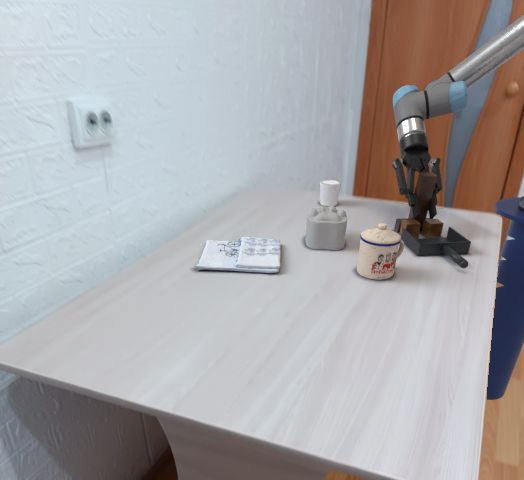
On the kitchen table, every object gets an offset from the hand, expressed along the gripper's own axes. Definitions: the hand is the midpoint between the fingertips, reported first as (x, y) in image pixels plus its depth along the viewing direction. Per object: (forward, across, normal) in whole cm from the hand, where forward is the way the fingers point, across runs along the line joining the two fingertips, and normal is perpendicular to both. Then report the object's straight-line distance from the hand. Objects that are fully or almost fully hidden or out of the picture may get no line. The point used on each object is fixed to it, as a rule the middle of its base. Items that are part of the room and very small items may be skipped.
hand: (425, 216), depth 131 cm
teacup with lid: (+19, +20, +11) cm, 30 cm away
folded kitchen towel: (+11, +52, +2) cm, 53 cm away
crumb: (+3, -4, -5) cm, 7 cm away
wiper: (0, 0, -7) cm, 7 cm away
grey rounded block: (+5, +28, -4) cm, 29 cm away
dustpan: (+13, 0, +5) cm, 14 cm away
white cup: (-19, +18, -27) cm, 38 cm away
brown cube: (+3, +3, -5) cm, 7 cm away
